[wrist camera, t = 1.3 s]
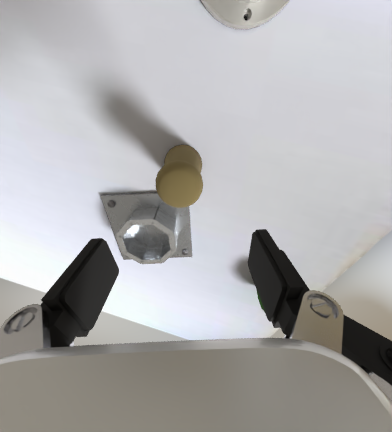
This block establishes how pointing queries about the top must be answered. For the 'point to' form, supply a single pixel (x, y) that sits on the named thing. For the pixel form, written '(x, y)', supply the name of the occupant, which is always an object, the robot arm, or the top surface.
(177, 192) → the cork
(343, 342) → the robot arm
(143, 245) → the duct collar
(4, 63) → the top surface
